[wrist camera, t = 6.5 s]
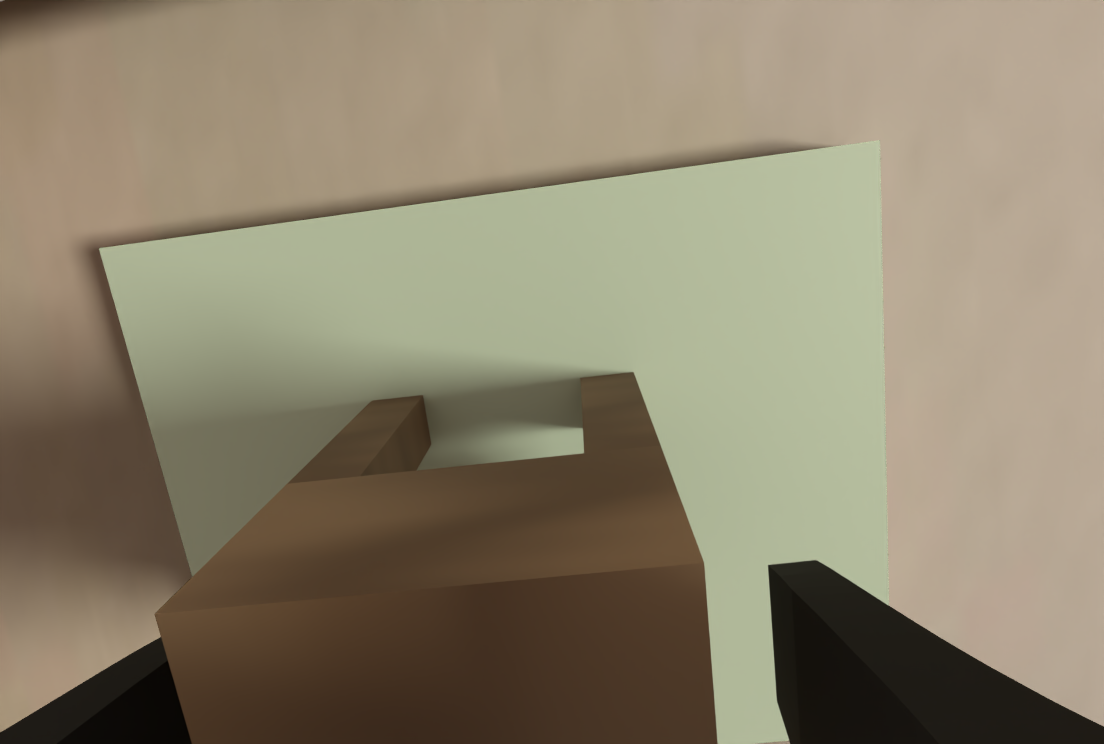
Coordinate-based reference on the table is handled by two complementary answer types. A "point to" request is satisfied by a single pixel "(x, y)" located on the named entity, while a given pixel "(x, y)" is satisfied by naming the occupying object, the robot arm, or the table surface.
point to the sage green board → (554, 359)
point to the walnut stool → (455, 597)
